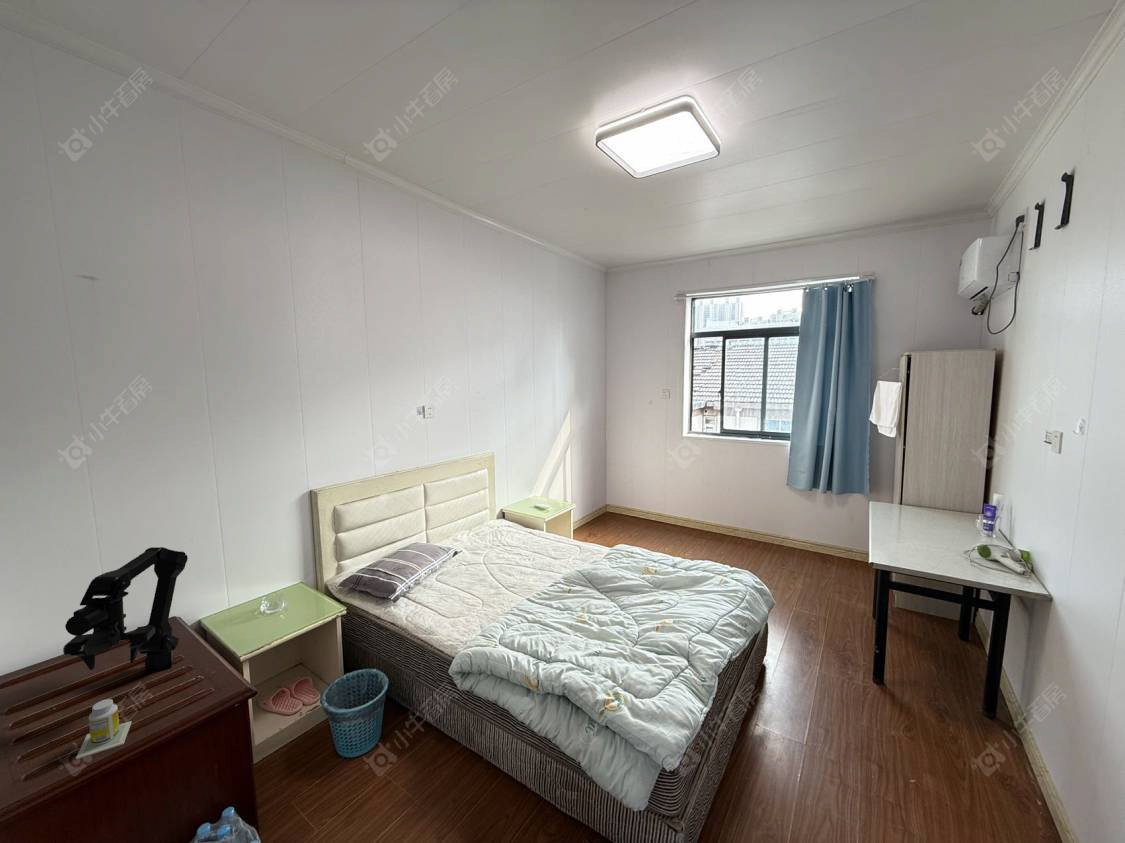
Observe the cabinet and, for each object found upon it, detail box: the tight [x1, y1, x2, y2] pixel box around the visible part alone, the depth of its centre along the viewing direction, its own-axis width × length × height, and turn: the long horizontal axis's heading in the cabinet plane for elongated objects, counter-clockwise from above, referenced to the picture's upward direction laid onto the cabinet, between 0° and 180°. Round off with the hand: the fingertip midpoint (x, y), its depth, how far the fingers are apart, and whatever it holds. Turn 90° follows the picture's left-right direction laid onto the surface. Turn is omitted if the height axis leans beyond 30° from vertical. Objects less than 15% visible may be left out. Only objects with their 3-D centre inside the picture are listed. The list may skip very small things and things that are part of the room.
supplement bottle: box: [88, 698, 120, 745], centre depth 120 cm, size 6×6×10 cm
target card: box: [75, 720, 132, 760], centre depth 121 cm, size 9×9×1 cm
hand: (112, 665), depth 131 cm, fingers open, 9 cm apart
